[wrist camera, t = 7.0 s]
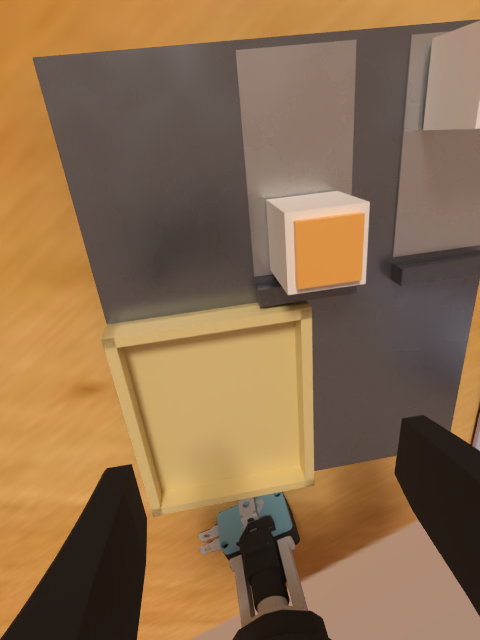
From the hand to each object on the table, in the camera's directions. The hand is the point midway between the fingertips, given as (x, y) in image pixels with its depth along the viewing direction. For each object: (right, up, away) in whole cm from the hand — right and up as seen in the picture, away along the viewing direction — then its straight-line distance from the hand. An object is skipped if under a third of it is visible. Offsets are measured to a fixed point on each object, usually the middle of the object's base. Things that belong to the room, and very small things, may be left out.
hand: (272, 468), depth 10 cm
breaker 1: (+2, +8, +6) cm, 10 cm away
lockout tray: (-2, 0, +10) cm, 10 cm away
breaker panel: (+2, +5, +9) cm, 11 cm away
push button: (-1, -9, +16) cm, 18 cm away
